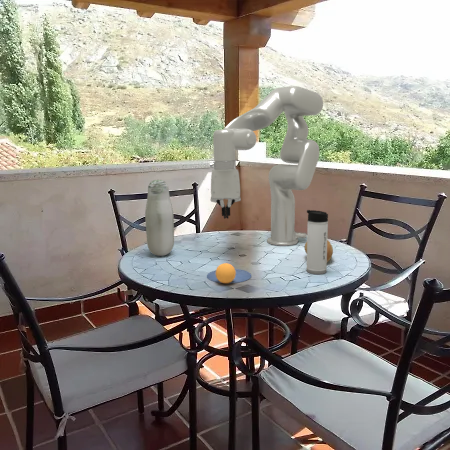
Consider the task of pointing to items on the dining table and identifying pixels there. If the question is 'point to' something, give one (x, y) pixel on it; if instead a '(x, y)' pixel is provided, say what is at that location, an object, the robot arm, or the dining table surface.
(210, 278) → the disc
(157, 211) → the grey beige bottle
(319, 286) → the dining table surface
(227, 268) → the ball
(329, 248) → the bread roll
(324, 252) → the travel mug
